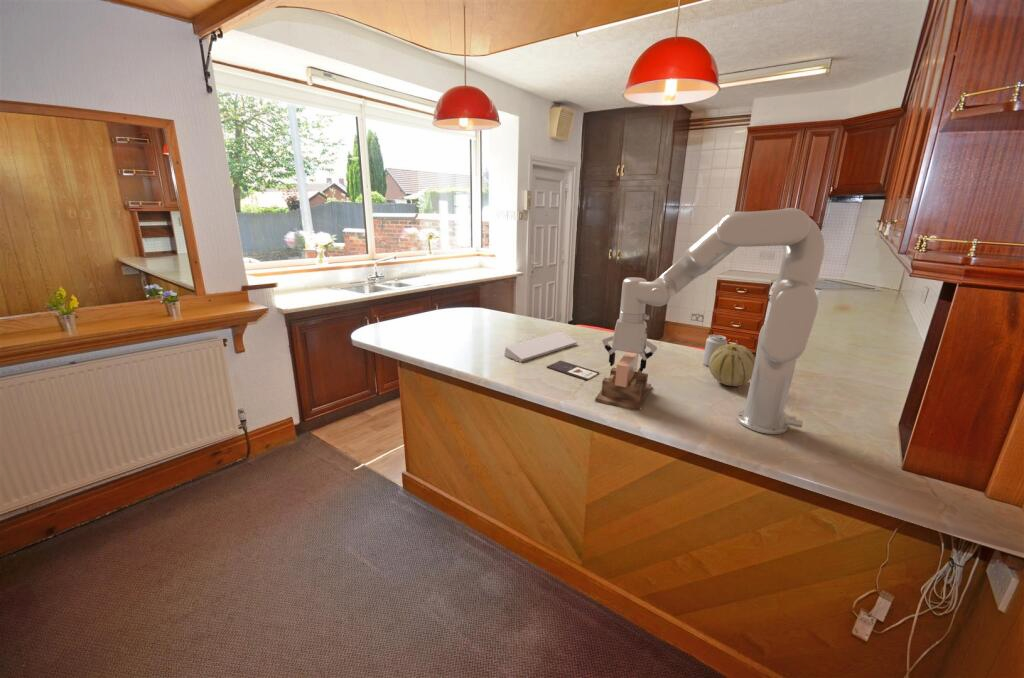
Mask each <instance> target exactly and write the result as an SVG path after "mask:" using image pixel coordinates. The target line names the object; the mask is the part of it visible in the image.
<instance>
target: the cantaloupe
mask: <svg viewBox="0 0 1024 678" xmlns="http://www.w3.org/2000/svg"><path fill="white" fill-rule="evenodd" d="M755 357H756V356H755V355H754V354H753V352H752V350H750V349H749V348H748V347H746V346H744V345H742V344H741V345H740V344H737V343H730V344H728V343H727V345H723V346H721V347H719V348H718V349H716V351H715V352H714V353H713V354H712V355H711V358H710V360H709V367H708V369H709V372H710V374H711V375H712V377H713V378H714V380H715V381H717V382H719V383H721V384H722V385H725V386H729V387H739V386H741V385H744V384H746V383H747V382H748V383H749V382H750V381H751V377H752V372H753V367H754V362H755Z"/></svg>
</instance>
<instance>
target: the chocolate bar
mask: <svg viewBox="0 0 1024 678" xmlns="http://www.w3.org/2000/svg"><path fill="white" fill-rule="evenodd" d="M546 368H547V369H548V370H553V371H555V372H558V373H561V374H564V375H567V376H570V377H573V378H576V379H578V380H579V379H580V380H583V381H588V380H590V379H592V378H594V377H595V376H598V375H599V374H600V372H599V371H596V370H593V369H590V368H586V367H583V366H580V365H577V364H573V363H570V362H566V361H563V360H558V361H556V362H554V363H552V364H549V365H547V366H546Z"/></svg>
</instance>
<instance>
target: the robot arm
mask: <svg viewBox="0 0 1024 678" xmlns="http://www.w3.org/2000/svg"><path fill="white" fill-rule="evenodd" d="M776 246H777V247H778V246H779V247H781V246H782V247H783V248H782V249H783V255H782V259H781V264H780V268H779V272H778V274H777V279H776V282H775V286H774V288H773V290H772V293H771V296H770V303H771V304H770V308H769V312H768V316H767V320H766V322H765V323H764V324H763V325H762V326H761V328H760V331H759V335H758V340H757V345H756V352H755V353H756V354H755V356H754V357H755V362H754V367H753V372H752V377H751V379H750V381H749V387H748V392H747V396H746V397H747V398H746V402H745V407H744V410H741V411H739V412H738V413H737V415H736V416H737V417H736V419H737V421H738V422H739V423H740V424H741V425H742V426H744V427H746V428H747V429H749V430H751V431H754V432H758V433H762V434H767V435H780V434H784V433H786V432H787V429H788V427H789V426H793V427H795V428H802V427H803V423H804V421H803V420H799V419H797V417H796V416H793V415H787V413H786V411H785V410H786V407H787V406H786V405H787V402H788V396H789V393H790V388H791V386H792V385H791V384H792V381H793V378H794V372H795V368H796V363H797V359H798V358H800V357H801V356H802V355H803V353H804V351H805V349H806V347H807V344H808V341H809V338H810V336H811V333H812V329H813V327H814V322H815V320H816V317H817V313H818V308H819V297H818V295H817V293H816V286H817V283H818V279H819V275H820V271H821V267H822V263H823V259H824V256H825V255H824V254H825V239H824V236H823V234H822V231H821V229H820V227H819V225H818V224H817V223H816V222H815V221H814V220H813V219H812V218H811V217H810V216H809V214H807V213H806V212H805V211H804V210H801V209H800V208H795V207H786V208H782V209H781V208H780V209H770V210H768V209H767V210H757V211H756V210H755V211H732V212H730V213H728V214H725V216H723V217H722V218H721V219H720V220H719V221H718V222H717V223H716V224H715V225H713V226H712V228H710V229H709V230H708V231H707V232H705V234H703V235H702V236H701V237H700V238H699V239H698V240H697V241H695V242H694V243H693V244H691V246H689V248H687V249H686V250H685V251H684V252H683V254H682V256H680V258H679V259H677V261H676V262H675V263H674V264H672V265H671V266H670V267H669V268H668V269H667V270H665V271H664V272H663V273H662V274H661V275H660V276H658V277H657V278H656V279H654V280H652V281H648V280H647V279H646V278H643V277H636V276H635V277H633V276H631V277H626V278H624V279H623V281H622V287H621V296H620V297H621V298H620V307H619V318H617V320H616V324H615V326H614V332H613V335H612V336H608V337H605V338H603V339H602V340H601V341H602V344H603V346H604V349H605V351H607V353H608V355H609V356H608V363H609V367H612V366H613V365H615V361H616V351H618V352H620V351H621V352H625V353H626V352H631V353H637V354H639V356H640V357H641V359H640V367H639V368H640V371H641V372H642V373H643V370H645V369H646V367H647V360H648V359H650V358H651V357H653V355H654V354H655V352H656V351H657V349H658V346H656V345H655V344H653V343H652V342H650V341H648V326H647V322H646V321H649V319H650V315H649V314H648V315H647V314H646V305H649V306H652V307H663V306H666V305H667V304H668V303H669V302H670V301H671V300H672V298H673V297H675V296H676V295H677V294H678V293H679V292H680V291H682V290H683V289H684V288H685V287H686V286H688V285H689V284H690V283H692V282H693V281H694V280H695V279H697V278H699V277H700V276H702V275H704V274H707V273H708V272H709V271H711V270H712V269H714V268H715V267H716V266H717V265H718V264H719V263H720V262H722V261H723V260H724V259H725V258H727V257H728V256H729V255H730V254H731V253H733V252H734V251H735V250H736V249H738V248H742V247H744V248H746V247H747V248H749V247H751V248H752V247H776ZM611 341H612V345H610V344H609V342H611ZM611 346H612V347H611ZM646 348H649V349H650V351H648V352H647V351H646Z"/></svg>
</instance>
